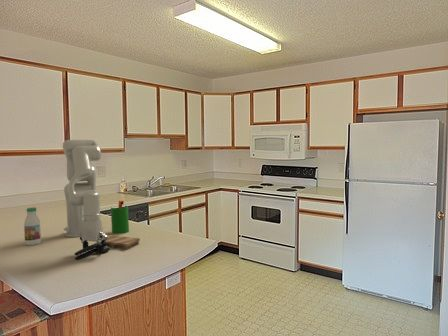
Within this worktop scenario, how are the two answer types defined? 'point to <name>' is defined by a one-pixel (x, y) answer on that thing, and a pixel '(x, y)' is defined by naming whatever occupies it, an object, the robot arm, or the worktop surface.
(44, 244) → the worktop surface
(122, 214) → the motor
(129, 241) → the stand
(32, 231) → the milk bottle
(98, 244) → the can opener
